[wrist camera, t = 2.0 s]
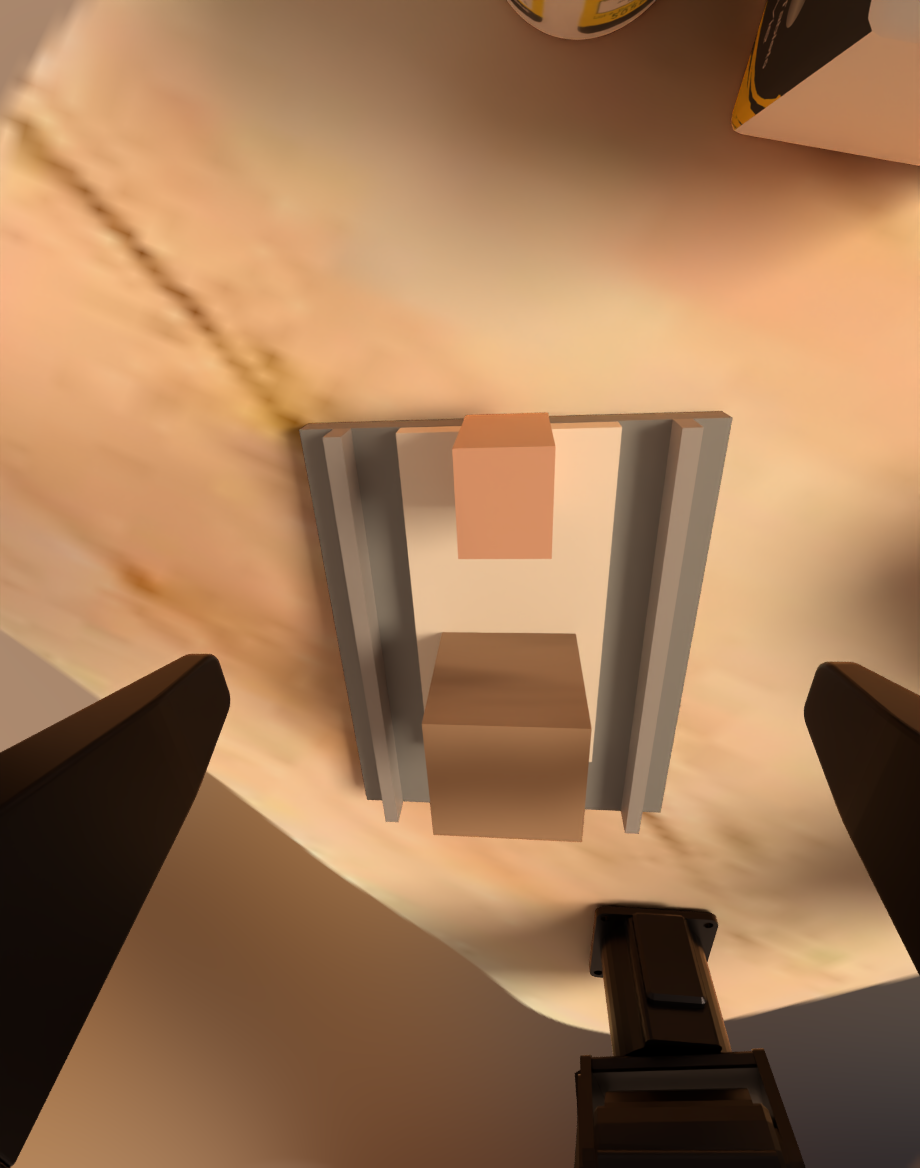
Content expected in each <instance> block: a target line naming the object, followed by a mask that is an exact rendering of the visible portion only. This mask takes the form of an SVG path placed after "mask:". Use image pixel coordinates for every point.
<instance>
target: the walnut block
mask: <svg viewBox="0 0 920 1168" xmlns="http://www.w3.org/2000/svg"><path fill="white" fill-rule="evenodd" d="M422 731H423V740H424V750H425V759H426V769H427V778H428V788H429V797H430V806H431V816H432V825H433V835H449V836H469V837H489V838H509V839H529V840H549V841H569V842H582V834H583V823H584V812H585V800H586V789H587V777H588V766H589V754H590V743H591V731H592V728H591V722H590V716H589V710H588V704H587V698H586V692H585V686H584V680H583V674H582V668H581V662H580V656H579V650H578V644H577V638H576V634H569V633H479V632H442V634H441V639H440V643H439V648H438V652H437V657H436V661H435V666H434V671H433V675H432V680H431V684H430V689H429V693H428V698H427V702H426V707H425V712H424V716H423V721H422Z"/></svg>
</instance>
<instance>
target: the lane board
mask: <svg viewBox="0 0 920 1168" xmlns="http://www.w3.org/2000/svg"><path fill="white" fill-rule="evenodd" d="M549 420H550V423H584V422H619V424H620V425H621V426H622V434H621V445H620V456H619V467H618V478H617V489H616V500H615V511H614V522H613V533H612V545H611V556H610V567H609V578H608V589H607V600H606V611H605V622H604V633H603V644H602V655H601V666H600V677H599V688H598V699H597V710H596V721H595V732H594V743H593V754H592V762H589V766H588V777H587V789H586V800H585V809H592V810H615V811H621V814H622V819H623V824H624V830H625V833H635V834H639V830H640V823H641V817H642V812H661V806H662V801H663V795H664V790H665V784H666V779H667V773H668V768H669V763H670V757H671V752H672V746H673V741H674V735H675V730H676V724H677V719H678V713H679V708H680V702H681V697H682V691H683V686H684V680H685V675H686V669H687V664H688V659H689V653H690V648H691V642H692V637H693V631H694V626H695V620H696V615H697V609H698V604H699V598H700V593H701V587H702V582H703V576H704V571H705V565H706V560H707V555H708V549H709V544H710V538H711V533H712V527H713V522H714V516H715V511H716V505H717V500H718V494H719V489H720V483H721V478H722V472H723V467H724V461H725V456H726V451H727V445H728V440H729V434H730V429H731V423H732V417H731V416H729V415H727V414H726V413H724V412H723V411H712V412H678V413H644V414H610V415H576V416H549ZM463 421H464V419H440V420H406V421H372V422H338V423H309V424H307V425H306V426H304V427H303V428H301V429H300V430H299V431H300V437H301V442H302V448H303V453H304V459H305V464H306V470H307V475H308V480H309V486H310V491H311V497H312V502H313V508H314V513H315V519H316V524H317V529H318V535H319V540H320V546H321V551H322V557H323V562H324V568H325V573H326V578H327V584H328V589H329V595H330V600H331V606H332V611H333V617H334V622H335V628H336V633H337V638H338V644H339V649H340V655H341V660H342V666H343V671H344V677H345V682H346V687H347V693H348V698H349V704H350V709H351V715H352V720H353V726H354V731H355V736H356V742H357V747H358V753H359V758H360V764H361V769H362V775H363V780H364V785H365V791H366V796H367V800H382V801H383V807H384V813H385V819H386V822H399V817H400V813H401V808H402V804H403V801H409V802H430V797H429V788H428V778H427V769H426V759H425V750H424V740H423V731H422V721H423V716H424V706H423V696H422V686H421V676H420V666H419V657H418V647H417V637H416V627H415V617H414V608H413V598H412V588H411V578H410V568H409V558H408V549H407V539H406V529H405V519H404V509H403V500H402V490H401V480H400V470H399V460H398V451H397V441H396V432H397V431H398V430H399V429H400V428H405V427H441V426H462V423H463Z"/></svg>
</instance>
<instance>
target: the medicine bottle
mask: <svg viewBox="0 0 920 1168" xmlns="http://www.w3.org/2000/svg"><path fill="white" fill-rule="evenodd" d="M731 125H732V128H733V130H734V131H736V132H738V133H739V134H744V135H749V136H755V137H760V138H766V139H772V140H777V141H783V142H788V143H794V144H800V145H805V146H811V147H816V148H822V149H828V150H833V151H839V152H844V153H850V154H855V155H861V156H867V157H872V158H878V159H883V160H889V161H895V162H900V163H906V164H911V165H917V166H920V0H767V3H766V6H765V9H764V13H763V16H762V19H761V22H760V26H759V29H758V32H757V35H756V38H755V42H754V45H753V48H752V51H751V55H750V58H749V61H748V64H747V67H746V71H745V74H744V77H743V80H742V84H741V87H740V90H739V93H738V96H737V100H736V103H735V106H734V109H733V113H732V118H731Z"/></svg>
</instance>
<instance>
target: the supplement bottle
mask: <svg viewBox="0 0 920 1168" xmlns="http://www.w3.org/2000/svg"><path fill="white" fill-rule="evenodd" d="M507 1H508V3H509V4H510V5H511V6H512V8H513V9H514V10H515V11H516V12H517V13H518V14H519V15H520V16H521V17H522V18H523V19H524V20H525V21H526V22H528V23H529V24H530V25H532V26H533V27H535V28H537V29H538V30H540V31H542V32H544V33H546V34H549V35H551V36H554V37H558V38H563V39H572V40H583V39H591V38H596V37H600V36H603V35H606V34H609V33H611V32H614V31H616V30H618V29H620V28H622V27H624V26H625V25H627V24H629V23H630V22H631V21H633V20H634V19H636V18H637V17H638V16H640V15H641V14H642V13H643V12H644V11H646V10H647V9H648V8H649V7H650V6H651V5H652V4H653V3H654V2H655V1H656V0H507Z"/></svg>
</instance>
